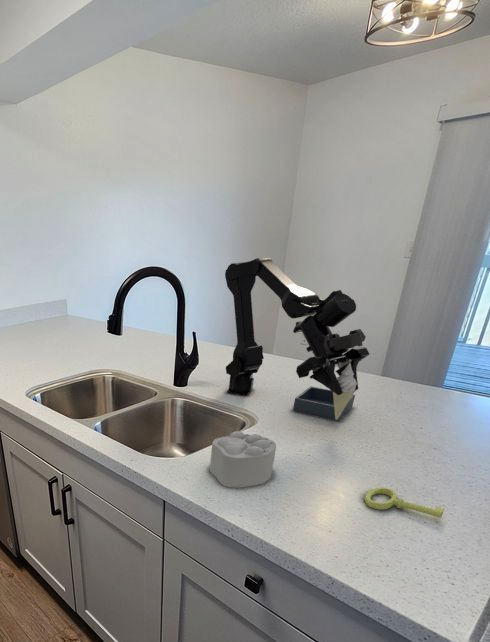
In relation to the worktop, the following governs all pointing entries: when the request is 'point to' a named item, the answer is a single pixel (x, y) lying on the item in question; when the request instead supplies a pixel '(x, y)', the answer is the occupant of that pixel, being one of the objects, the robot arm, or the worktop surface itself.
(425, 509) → the key
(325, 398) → the tub
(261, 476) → the lumpy-topped squat cylinder
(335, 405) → the ice cream cone
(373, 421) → the worktop surface
